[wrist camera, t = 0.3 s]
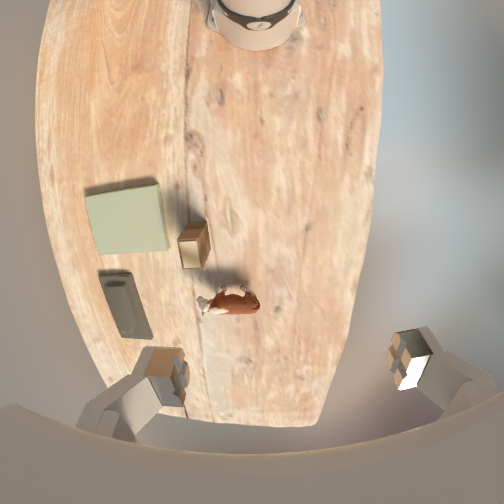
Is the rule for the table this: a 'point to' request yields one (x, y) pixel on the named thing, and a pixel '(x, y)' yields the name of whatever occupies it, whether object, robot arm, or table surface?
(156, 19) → the table surface
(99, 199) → the board
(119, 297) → the soap mold
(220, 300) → the bull figurine
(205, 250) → the block
